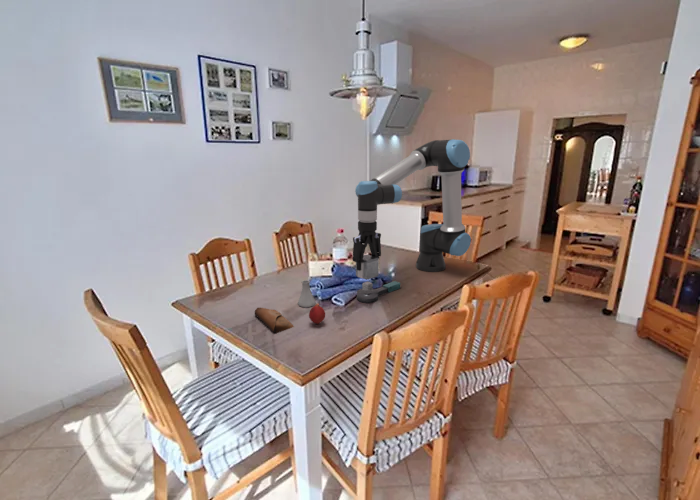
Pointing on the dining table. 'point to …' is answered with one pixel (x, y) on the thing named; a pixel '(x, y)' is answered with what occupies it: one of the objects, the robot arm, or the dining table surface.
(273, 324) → the sunglasses case
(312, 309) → the onion
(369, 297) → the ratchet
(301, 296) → the flask
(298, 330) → the dining table surface
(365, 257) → the rounded charcoal cube
